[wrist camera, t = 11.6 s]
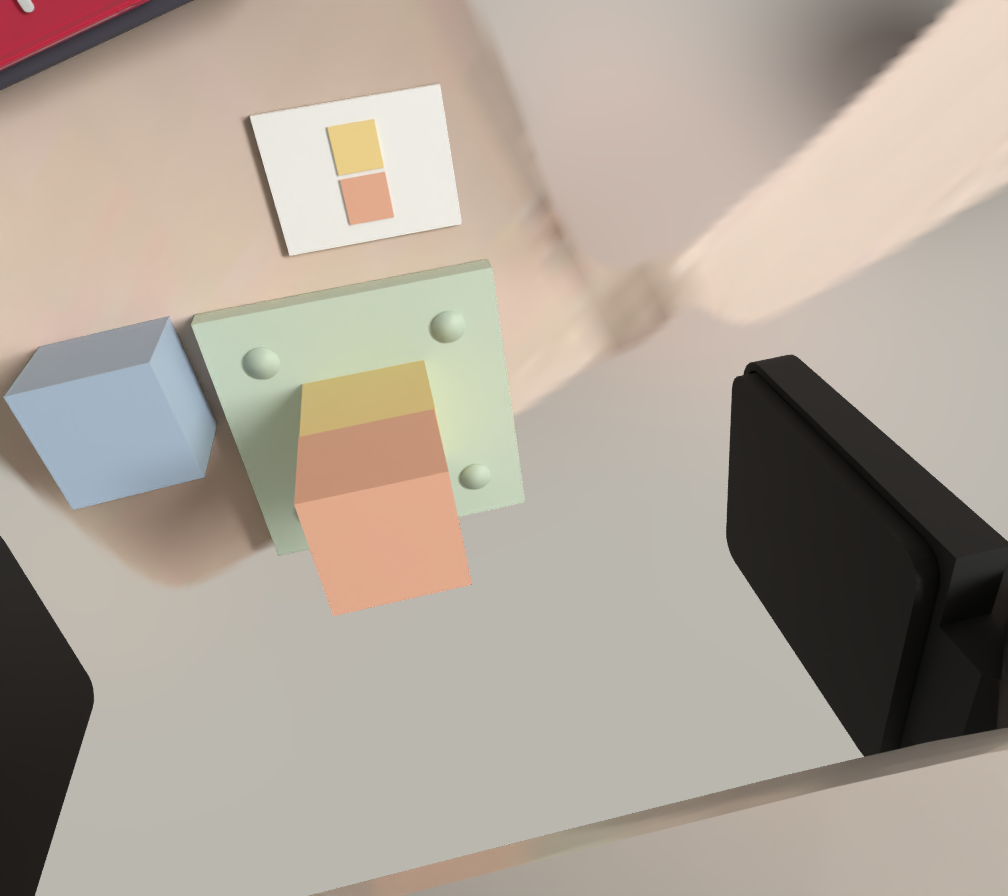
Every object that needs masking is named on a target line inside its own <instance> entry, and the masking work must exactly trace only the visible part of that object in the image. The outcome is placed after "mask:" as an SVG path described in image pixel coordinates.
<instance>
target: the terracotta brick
mask: <svg viewBox="0 0 1008 896" xmlns="http://www.w3.org/2000/svg"><path fill="white" fill-rule="evenodd" d="M294 506H295V509H296V511H297V514H298V517H299V520H300V523H301V526H302V529H303V531H304V534H305V537H306V540H307V543H308V546H309V549H310V551H311V554H312V557H313V560H314V563H315V565H316V568H317V571H318V574H319V577H320V580H321V583H322V585H323V588H324V591H325V594H326V597H327V599H328V603H329V606H330V608H331V611H332V614H333V616H336V615H339V614H344V613H349V612H353V611H357V610H362V609H366V608H371V607H375V606H379V605H384V604H388V603H393V602H397V601H401V600H406V599H410V598H414V597H419V596H423V595H428V594H432V593H437V592H440V591H445V590H450V589H454V588H458V587H463V586H467V585H472V582H471V578H470V573H469V568H468V563H467V558H466V553H465V549H464V544H463V539H462V534H461V529H460V524H459V519H458V515H457V510H456V505H455V500H454V495H453V491H452V486H451V481H450V476H449V471H448V467H447V462H446V458H445V454H444V449H443V445H442V441H441V436H440V432H439V427H438V423H437V419H436V414H435V410H434V409H431V410H426V411H421V412H417V413H412V414H407V415H402V416H397V417H393V418H388V419H383V420H378V421H373V422H368V423H364V424H359V425H354V426H349V427H344V428H340V429H335V430H330V431H325V432H320V433H316V434H311V435H306V436H301V437H298V451H297V467H296V483H295V499H294Z"/></svg>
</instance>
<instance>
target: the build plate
mask: <svg viewBox="0 0 1008 896" xmlns="http://www.w3.org/2000/svg"><path fill="white" fill-rule="evenodd" d="M191 326H192V329H193V331H194V334H195V337H196V339H197V342H198V345H199V347H200V350H201V353H202V355H203V358H204V361H205V363H206V366H207V368H208V371H209V374H210V376H211V379H212V382H213V384H214V387H215V390H216V392H217V395H218V398H219V400H220V403H221V406H222V408H223V411H224V413H225V416H226V419H227V421H228V424H229V427H230V429H231V432H232V435H233V437H234V440H235V443H236V445H237V448H238V450H239V453H240V456H241V458H242V461H243V464H244V466H245V469H246V472H247V474H248V477H249V480H250V482H251V485H252V487H253V490H254V493H255V495H256V498H257V501H258V503H259V506H260V509H261V511H262V514H263V517H264V519H265V522H266V524H267V527H268V530H269V532H270V535H271V538H272V540H273V543H274V546H275V548H276V551H277V554H278V556H281V555H286V554H290V553H295V552H299V551H304V550H309V546H308V543H307V540H306V537H305V534H304V531H303V529H302V526H301V523H300V520H299V517H298V514H297V511H296V509H295V506H294V499H295V483H296V467H297V451H298V437H299V434H300V418H301V401H302V384H305V383H310V382H315V381H320V380H325V379H330V378H335V377H340V376H345V375H350V374H355V373H360V372H365V371H370V370H375V369H380V368H385V367H390V366H395V365H400V364H405V363H410V362H415V361H420V360H424V362H425V367H426V371H427V375H428V380H429V384H430V388H431V393H432V397H433V401H434V406H435V410H436V415H437V420H438V425H439V430H440V435H441V440H442V445H443V449H444V454H445V458H446V462H447V467H448V471H449V476H450V481H451V486H452V491H453V495H454V500H455V505H456V510H457V515H458V517H460V516H464V515H469V514H473V513H478V512H483V511H488V510H492V509H497V508H501V507H506V506H510V505H515V504H520V503H524V502H525V497H524V490H523V483H522V476H521V469H520V461H519V454H518V448H517V440H516V434H515V426H514V419H513V412H512V405H511V398H510V390H509V383H508V376H507V369H506V362H505V355H504V348H503V341H502V334H501V327H500V319H499V312H498V305H497V298H496V291H495V284H494V277H493V270H492V266H491V264H490V262H489V260H488V259H486V260H480V261H475V262H470V263H465V264H459V265H454V266H449V267H443V268H438V269H433V270H428V271H422V272H417V273H412V274H407V275H401V276H396V277H391V278H386V279H380V280H375V281H370V282H364V283H359V284H354V285H349V286H343V287H338V288H333V289H328V290H322V291H317V292H312V293H307V294H301V295H296V296H291V297H285V298H280V299H275V300H270V301H264V302H259V303H254V304H249V305H243V306H238V307H233V308H227V309H222V310H217V311H212V312H206V313H201V314H196V315H194V318H193V321H192V324H191Z"/></svg>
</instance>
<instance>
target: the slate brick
mask: <svg viewBox="0 0 1008 896" xmlns="http://www.w3.org/2000/svg"><path fill="white" fill-rule="evenodd" d="M4 399H5V401H6V402H7V404H8V405H9V407H10V409H11V410H12V412H13V414H14V415H15V417H16V418H17V420H18V422H19V423H20V425H21V427H22V428H23V430H24V431H25V433H26V435H27V436H28V438H29V440H30V441H31V443H32V444H33V446H34V448H35V449H36V451H37V453H38V454H39V456H40V457H41V459H42V461H43V462H44V464H45V466H46V467H47V469H48V470H49V472H50V474H51V475H52V477H53V479H54V480H55V482H56V483H57V485H58V487H59V488H60V490H61V492H62V493H63V495H64V496H65V498H66V500H67V501H68V503H69V504H70V506H71V508H72V509H73V510H75V509H79V508H83V507H87V506H91V505H95V504H99V503H103V502H107V501H111V500H115V499H119V498H123V497H127V496H132V495H136V494H140V493H144V492H148V491H152V490H156V489H160V488H164V487H168V486H172V485H176V484H180V483H184V482H188V481H192V480H196V479H200V478H204V477H205V474H206V469H207V465H208V461H209V457H210V452H211V448H212V444H213V439H214V435H215V431H216V427H217V422H216V420H215V417H214V415H213V413H212V411H211V409H210V406H209V404H208V402H207V400H206V397H205V395H204V393H203V391H202V388H201V386H200V384H199V382H198V379H197V377H196V375H195V373H194V371H193V368H192V366H191V364H190V362H189V359H188V357H187V355H186V353H185V350H184V348H183V346H182V344H181V341H180V339H179V337H178V335H177V333H176V330H175V328H174V326H173V324H172V321H171V319H170V317H169V316H168V317H164V318H159V319H155V320H151V321H147V322H142V323H138V324H134V325H130V326H125V327H121V328H117V329H112V330H108V331H104V332H100V333H95V334H91V335H87V336H83V337H78V338H74V339H70V340H66V341H61V342H57V343H53V344H49V345H44V346H40V347H39V348H38V350H37V351H36V352H35V354H34V355H33V357H32V358H31V359H30V361H29V362H28V364H27V365H26V366H25V368H24V369H23V370H22V372H21V373H20V375H19V376H18V377H17V379H16V380H15V382H14V383H13V384H12V386H11V387H10V389H9V390H8V391H7V393H6V394H5V395H4Z"/></svg>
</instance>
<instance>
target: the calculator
mask: <svg viewBox="0 0 1008 896" xmlns="http://www.w3.org/2000/svg"><path fill="white" fill-rule="evenodd" d="M191 1H193V0H0V91H1V90H3V89H5V88H7V87H9V86H11V85H13V84H15V83H18V82H20V81H22V80H24V79H26V78H28V77H30V76H33V75H35V74H37V73H39V72H41V71H43V70H45V69H47V68H50V67H52V66H54V65H56V64H58V63H60V62H62V61H65V60H67V59H69V58H71V57H73V56H75V55H77V54H80V53H82V52H84V51H86V50H88V49H90V48H92V47H94V46H97V45H99V44H101V43H103V42H105V41H107V40H109V39H112V38H114V37H116V36H118V35H120V34H122V33H124V32H126V31H129V30H131V29H133V28H135V27H137V26H139V25H141V24H144V23H146V22H148V21H150V20H152V19H154V18H156V17H158V16H161V15H163V14H165V13H167V12H169V11H171V10H173V9H176V8H178V7H180V6H182V5H184V4H186V3H188V2H191Z"/></svg>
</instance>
